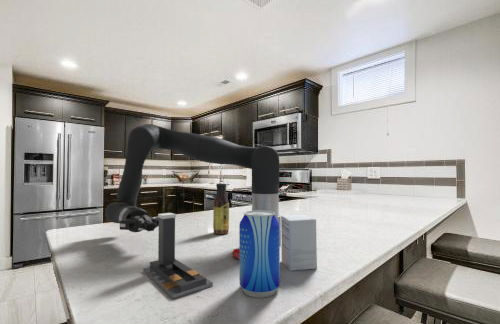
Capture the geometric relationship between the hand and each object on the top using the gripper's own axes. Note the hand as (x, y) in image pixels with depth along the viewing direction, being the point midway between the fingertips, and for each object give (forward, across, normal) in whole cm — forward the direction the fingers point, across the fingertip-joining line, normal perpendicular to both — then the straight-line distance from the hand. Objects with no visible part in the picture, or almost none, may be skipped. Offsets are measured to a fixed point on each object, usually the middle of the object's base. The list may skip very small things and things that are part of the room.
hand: (151, 227), depth 72 cm
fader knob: (+10, 0, -8) cm, 13 cm away
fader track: (+16, 0, -9) cm, 18 cm away
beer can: (+33, -12, -9) cm, 36 cm away
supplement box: (+29, -29, -9) cm, 42 cm away
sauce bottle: (-14, -32, -9) cm, 37 cm away
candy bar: (+20, -21, -10) cm, 30 cm away
